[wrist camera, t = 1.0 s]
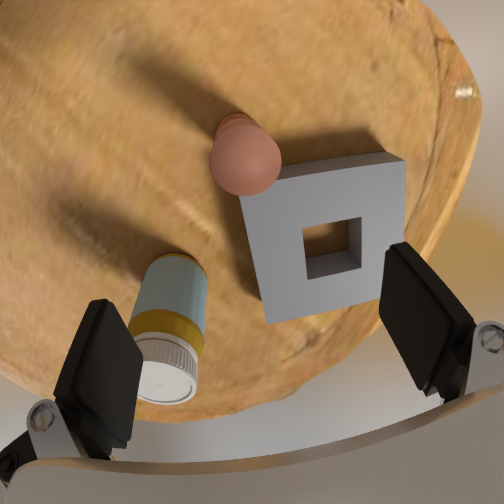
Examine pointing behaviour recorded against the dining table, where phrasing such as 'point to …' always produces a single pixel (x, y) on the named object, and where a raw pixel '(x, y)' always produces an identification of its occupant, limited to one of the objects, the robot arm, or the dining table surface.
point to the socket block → (321, 212)
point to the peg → (244, 156)
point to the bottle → (170, 328)
